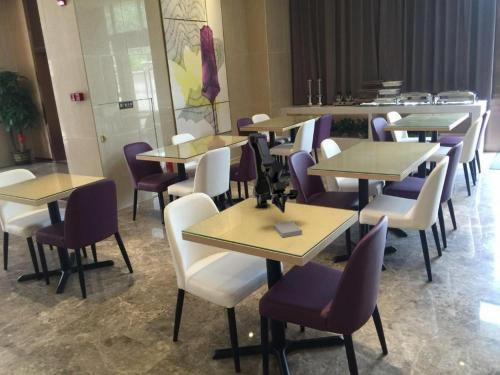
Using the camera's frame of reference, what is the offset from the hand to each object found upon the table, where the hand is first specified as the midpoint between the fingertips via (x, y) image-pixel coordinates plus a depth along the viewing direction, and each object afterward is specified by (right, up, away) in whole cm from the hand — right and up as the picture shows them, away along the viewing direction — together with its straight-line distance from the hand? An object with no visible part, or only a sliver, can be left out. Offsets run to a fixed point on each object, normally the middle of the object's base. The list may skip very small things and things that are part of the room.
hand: (283, 212), depth 195 cm
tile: (0, -6, +4) cm, 7 cm away
